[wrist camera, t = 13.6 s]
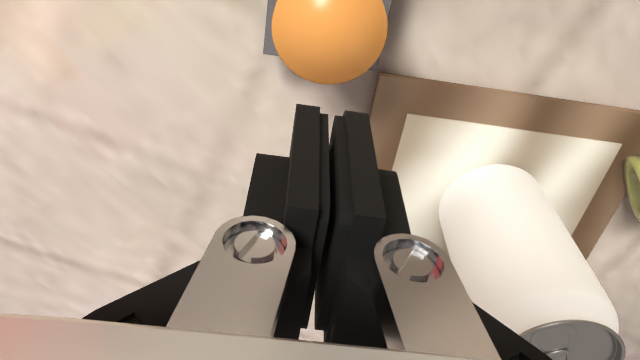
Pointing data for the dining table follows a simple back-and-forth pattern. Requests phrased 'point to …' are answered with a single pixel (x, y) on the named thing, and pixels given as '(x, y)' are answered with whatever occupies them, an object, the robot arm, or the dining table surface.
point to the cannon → (633, 182)
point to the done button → (329, 37)
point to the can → (526, 265)
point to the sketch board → (502, 148)
